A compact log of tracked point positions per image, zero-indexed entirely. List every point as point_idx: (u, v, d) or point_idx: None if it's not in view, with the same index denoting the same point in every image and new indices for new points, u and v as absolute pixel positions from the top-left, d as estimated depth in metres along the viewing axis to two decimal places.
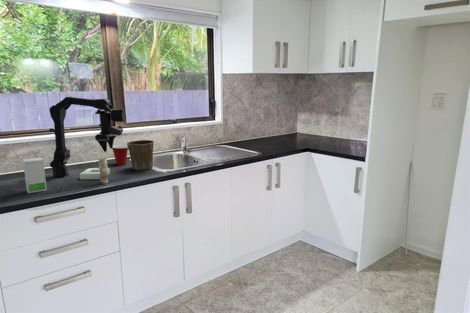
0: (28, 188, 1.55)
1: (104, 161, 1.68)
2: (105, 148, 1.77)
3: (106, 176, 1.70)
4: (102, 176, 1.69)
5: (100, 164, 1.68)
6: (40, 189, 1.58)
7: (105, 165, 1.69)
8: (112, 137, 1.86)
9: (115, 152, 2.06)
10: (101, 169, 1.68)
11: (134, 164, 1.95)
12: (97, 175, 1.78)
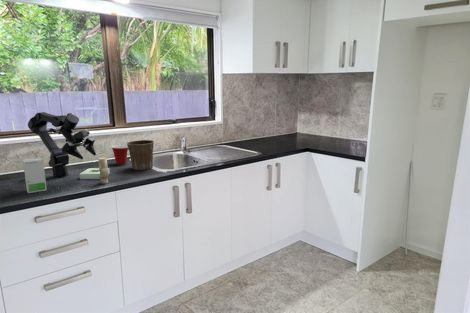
0: (28, 188, 1.55)
1: (104, 161, 1.68)
2: (79, 155, 1.67)
3: (106, 176, 1.70)
4: (102, 176, 1.69)
5: (100, 164, 1.68)
6: (40, 189, 1.58)
7: (105, 165, 1.69)
8: (89, 145, 1.76)
9: (115, 152, 2.06)
10: (101, 169, 1.68)
11: (134, 164, 1.95)
12: (97, 175, 1.78)
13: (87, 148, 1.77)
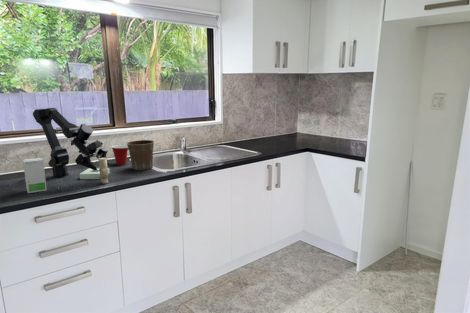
0: (28, 188, 1.55)
1: (104, 161, 1.68)
2: (93, 166, 1.65)
3: (106, 176, 1.70)
4: (102, 176, 1.69)
5: (100, 164, 1.68)
6: (40, 189, 1.58)
7: (105, 165, 1.69)
8: (102, 155, 1.75)
9: (115, 152, 2.06)
10: (101, 169, 1.68)
11: (134, 164, 1.95)
12: (97, 175, 1.78)
13: None
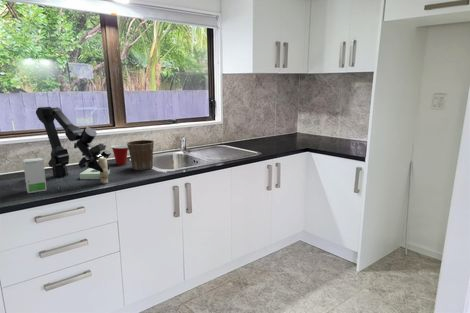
0: (28, 188, 1.55)
1: (104, 161, 1.68)
2: (100, 168, 1.67)
3: (106, 176, 1.70)
4: (102, 176, 1.69)
5: (100, 164, 1.68)
6: (40, 189, 1.58)
7: (105, 165, 1.69)
8: None
9: (115, 152, 2.06)
10: None
11: (134, 164, 1.95)
12: (97, 175, 1.78)
13: None
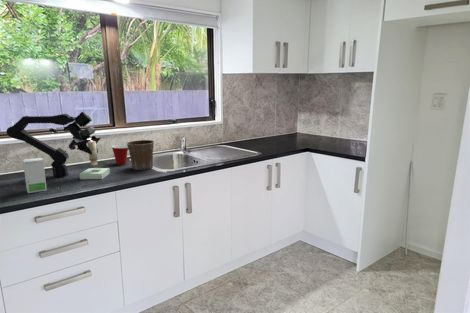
0: (28, 188, 1.55)
1: (93, 144, 1.78)
2: (89, 150, 1.77)
3: (95, 158, 1.80)
4: (91, 158, 1.79)
5: (89, 147, 1.78)
6: (40, 189, 1.58)
7: (94, 148, 1.79)
8: None
9: (115, 152, 2.06)
10: None
11: (134, 164, 1.95)
12: (97, 175, 1.78)
13: None
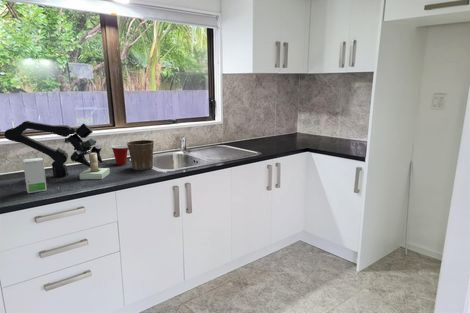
0: (28, 188, 1.55)
1: (94, 156, 1.80)
2: (87, 163, 1.77)
3: (96, 170, 1.82)
4: (92, 170, 1.81)
5: (90, 158, 1.80)
6: (40, 189, 1.58)
7: (95, 159, 1.81)
8: None
9: (115, 152, 2.06)
10: (91, 163, 1.81)
11: (134, 164, 1.95)
12: (97, 175, 1.78)
13: None
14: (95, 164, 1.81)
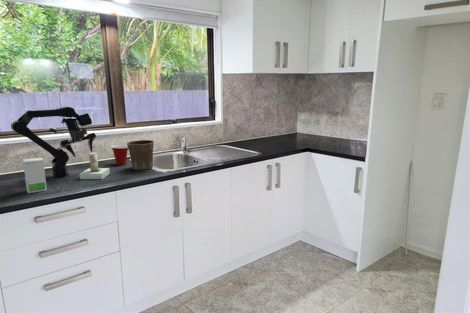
0: (28, 188, 1.55)
1: (94, 156, 1.80)
2: (72, 153, 1.81)
3: (96, 170, 1.82)
4: (92, 170, 1.81)
5: (90, 159, 1.80)
6: (40, 189, 1.58)
7: (95, 160, 1.81)
8: (89, 141, 1.87)
9: (115, 152, 2.06)
10: (91, 163, 1.81)
11: (134, 164, 1.95)
12: (97, 175, 1.78)
13: (88, 142, 1.89)
14: (95, 164, 1.81)
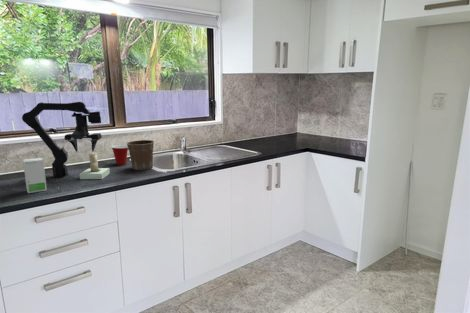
0: (28, 188, 1.55)
1: (94, 156, 1.80)
2: None
3: (96, 170, 1.82)
4: (92, 170, 1.81)
5: (91, 159, 1.80)
6: (40, 189, 1.58)
7: (95, 159, 1.81)
8: None
9: (115, 152, 2.06)
10: (91, 163, 1.81)
11: (134, 164, 1.95)
12: (97, 175, 1.78)
13: None
14: (95, 164, 1.81)
